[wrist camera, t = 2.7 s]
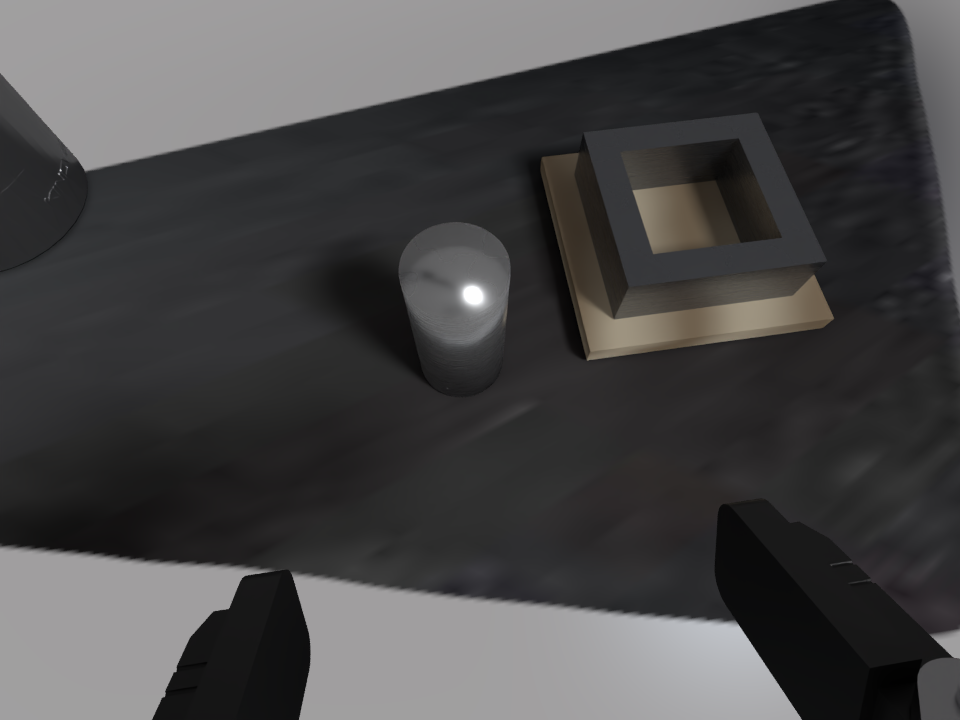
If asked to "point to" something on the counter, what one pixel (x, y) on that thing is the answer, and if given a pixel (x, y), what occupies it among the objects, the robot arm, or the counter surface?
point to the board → (670, 227)
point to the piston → (457, 305)
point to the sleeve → (683, 160)
